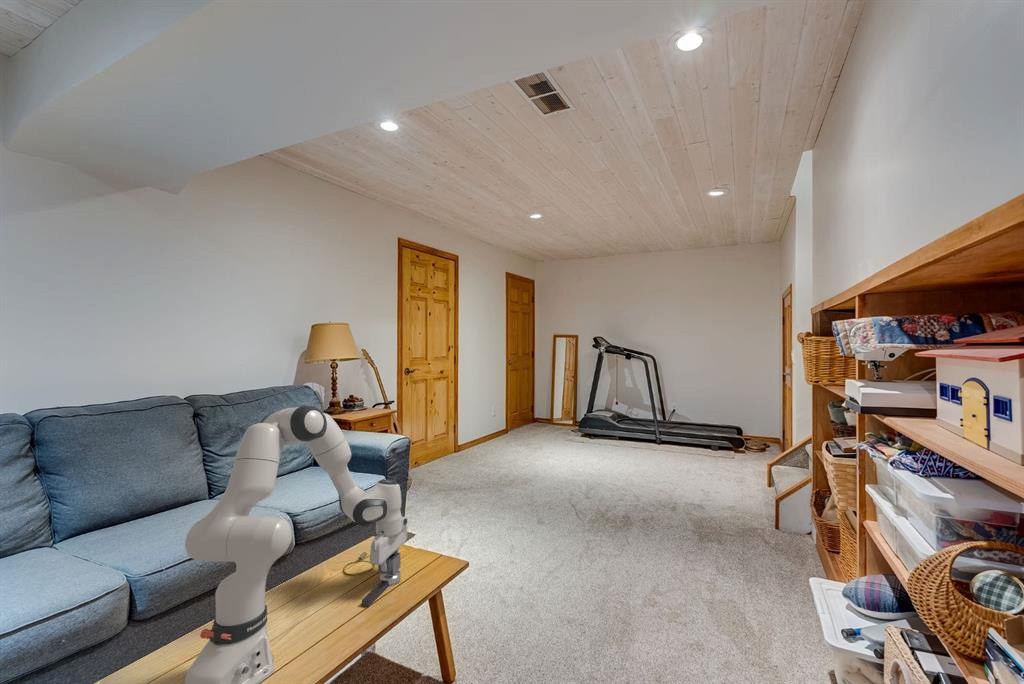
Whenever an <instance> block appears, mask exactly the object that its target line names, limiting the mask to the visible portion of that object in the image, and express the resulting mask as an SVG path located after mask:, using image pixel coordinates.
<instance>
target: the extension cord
mask: <svg viewBox="0 0 1024 684" xmlns="http://www.w3.org/2000/svg"><path fill="white" fill-rule="evenodd" d="M367 554H368V553H367V552H365V551H363V553H361V554H359V555H360V556H359V557H358V559H357V560H355V561H353V562H350V563H348V564H345V565H344V567H343V571H342V572H343V574H345V575H347V576H349V575H350V577H357V575H358V576H361V575H365V574H367V573H369V572H372V571H373V570H374V569H375V568H376V565H373V564H372V567H371V568H369V569H367V570H365V571H362V572H357V573H356V572H355V573H347V572H346V571H345V570H346V568H347V567H348V566H350V565H351V564H357V563H359V562H364V563H370V564H371V562H370V560H369V561H368V560H364V559H365V558H366V557H367Z"/></svg>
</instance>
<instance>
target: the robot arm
mask: <svg viewBox="0 0 1024 684" xmlns="http://www.w3.org/2000/svg"><path fill="white" fill-rule="evenodd" d="M302 443H305V444H306V445H307V447H308V448H309V449H308V450H309V451H310V453H311V454H312V456H313V459H315V461H316V463H317V464H318V465H319V467H320V468H321V469H322V470H323V471H324V472H325V473H326V474H327V475H328V476H329V478H330V480H331V481H332V484H333V486H334V487H335V489H336V491H337V493H338V504H339V505H338V506H339V509H340V512H341V513H342V514H343V515H344V516H347V517H348V518H349V519H351V521H353V523H356V524H357V525H358V526H362V527H365V526H370V525H372V524H375V534H376V536H374V539H373V540H372V541H371V544H370V554H369V562H371V563H370V564H371V565H372V566H373V565H375V566H378V565H381V571H386V570H387V569H388V565H387V564H386V561H387V558H388V557H389V556H390V555H391V554H393V553H394V552H396V553H400V547H401V546H403V545H404V544H405V542H406V541H407V540H408V522H409V518H408V517H407V516H402V511H401V508H402V492H401V487H400V483H398V482H397V481H395V480H392V479H381V480H378V481H377V482H376V484H375V485H374V486H373V487H371V488H370V489H369V490H367V491H366V490H364V489H363V488H362V487H360V486H359V485H358V484H357V483H356V482H355V479H354V478H353V476H352V473H351V472H350V470H349V467H348V463H349V462H350V461H351V459H352V450H351V447H350V444H349V442H348V440H347V438H346V436H345V434H344V433H343V431H342V430H341V428H340V426H339V425H338V423H337V422H336V421H335V420H334V419H333V417H332V416H331V415H330V414H328V413H326V412H323V411H321V410H320V409H319V408H318V407H317V406H313V405H302V406H301V405H300V406H296V407H295V406H294V407H288V408H284V409H280V410H278V411H273V412H270V413H269V414H267V415H266V416H264V417H263V418H262V419H261V420H260V421H259V423H258V422H257V423H253V424H252V425H250V426H249V427H247V428H246V431H245V432H244V434H243V436H242V438H241V441H240V443H239V446H238V448H237V451H236V453H235V454H236V455H235V458H234V462H233V466H232V469H231V473H230V477H229V479H228V483H227V486H226V489H225V491H224V493H223V495H222V496H221V498H220V499H219V501H218V502H217V504H216V505H215V506H214V507H213V508H212V510H211V511H210V512H208V514H206V515H205V516H203V518H201V519H200V520H197V521H196V522H195V523H194V524H193V525H192V527H190V528H189V530H188V532H187V535H186V537H185V541H184V542H185V543H184V545H185V546H184V547H185V548H184V549H185V552H186V554H187V556H188V557H189V558H191V559H194V560H197V561H203V562H206V563H235V566H236V568H235V572H233V573H230V574H229V575H228V576H226V577H225V578H224V579H222V580H221V582H220V583H219V584H218V586H217V588H216V590H215V593H214V594H215V597H214V598H215V600H214V601H215V618H214V620H213V623H212V627H211V628H210V629H209V628H203V629H202V630H201V631H200V635H199V636H200V638H201V639H206V640H208V641H207V642H206V644H205V645H204V647H203V648H202V650H201V651H200V652H199V654H198V655H197V656H196V658H195V660H194V661H193V663H192V664H191V665H190V666H189V668H188V669H187V671H186V673H185V676H184V681H183V684H260V683H262V682H263V681H265V680H266V679H267V678H269V677H271V675H273V674H274V672H275V666H274V664H273V661H274V656H273V653H272V650H271V646H270V640H269V639H270V638H269V635H268V634H269V633H268V630H267V629H268V628H267V622H268V606H267V604H266V585H267V584H266V583H267V578H268V574H269V572H270V570H271V567H272V566H273V564H274V563H275V562H276V561H277V560H278V559H280V558H281V557H282V556H283V555H284V554H285V553H286V552H287V551H288V548H289V547H290V545H291V542H292V539H293V529H292V527H291V524H290V522H289V521H288V520H287V519H286V518H282V517H277V516H272V515H250V512H251V511H252V509H253V508H254V507H255V506H256V505H257V504H258V503H259V502H261V501H264V500H265V499H268V497H270V495H272V493H273V491H274V489H275V485H276V480H277V475H278V471H279V466H280V460H281V455H282V450H283V449H284V447H285V446H293V445H295V446H296V445H298V444H302Z"/></svg>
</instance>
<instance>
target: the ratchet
mask: <svg viewBox="0 0 1024 684" xmlns="http://www.w3.org/2000/svg"><path fill="white" fill-rule="evenodd" d="M400 582H401V571H400V570H399V569H398V570H397V571H396V572H395V573H394V574H393V575H390V574H382V573H379V583H378V584H377V585H376V586H374V588H372V589H371V591H370V592H368V593H367V594H366V595H365V596H364V597H363V598H362V599H361V606H362V607H364V608H370V606H371V605H372V604H374V602H376V600H377V599H378V598H379V597H380V596H382V594H383V593H384V592H385V591H386V590H387V589H388V588H389V587H393V586H397V585H398V584H399V583H400Z"/></svg>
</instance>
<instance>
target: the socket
mask: <svg viewBox="0 0 1024 684" xmlns="http://www.w3.org/2000/svg"><path fill="white" fill-rule="evenodd" d="M401 562H402V561H401V552H399V553H396V552H394V553H393V554H391V555H390V556H389V557H388V558H387V561H386V564H387V565H388V569H387V570H386V571H381V565H377V569H378V570H377V573H378V574H381V573H382V574H390V575H393V574H394V573H395V572H396V571H397V570H399V569H400V568H401Z"/></svg>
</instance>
